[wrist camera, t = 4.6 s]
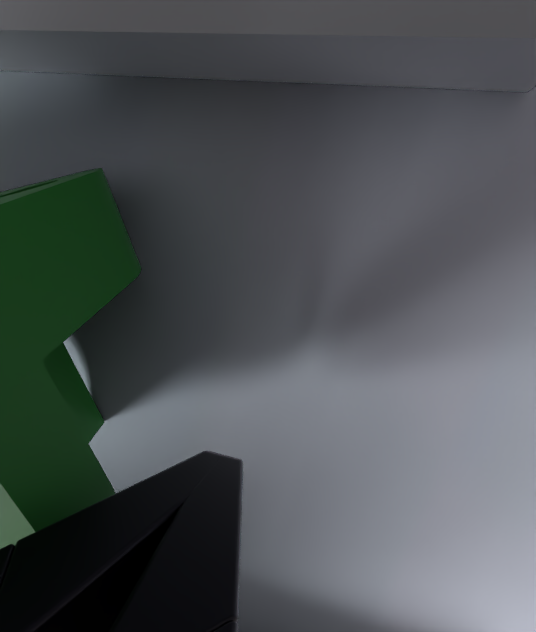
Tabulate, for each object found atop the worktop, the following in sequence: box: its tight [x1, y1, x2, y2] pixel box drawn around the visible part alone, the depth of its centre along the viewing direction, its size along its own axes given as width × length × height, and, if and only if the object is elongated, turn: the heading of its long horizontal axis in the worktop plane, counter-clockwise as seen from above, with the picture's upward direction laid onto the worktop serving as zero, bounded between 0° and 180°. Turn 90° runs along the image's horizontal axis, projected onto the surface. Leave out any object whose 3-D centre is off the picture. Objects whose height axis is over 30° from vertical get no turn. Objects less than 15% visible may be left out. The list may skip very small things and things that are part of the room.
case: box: [0, 0, 536, 92], centre depth 9 cm, size 14×16×2 cm
